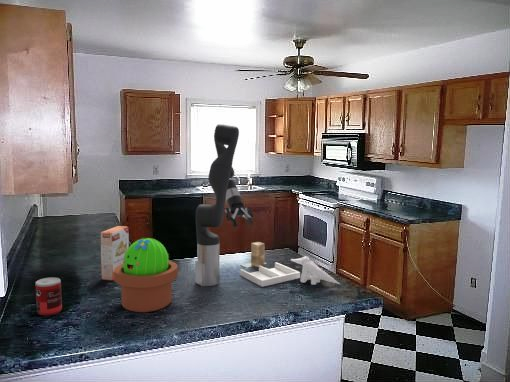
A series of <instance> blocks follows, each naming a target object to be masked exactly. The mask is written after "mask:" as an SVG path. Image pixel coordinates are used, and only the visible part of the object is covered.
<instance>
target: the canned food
mask: <svg viewBox="0 0 510 382" xmlns="http://www.w3.org/2000/svg"><path fill="white" fill-rule="evenodd" d="M35 299H36V300H35V302H36V311H37V314H38V315H40V316H45V317H46V316H52V315H57V314H58V313H60V312H61V311H62V309H63V303H62V281H61V279H60V278H59V277H44V278H40V279H38V280H37V281H35Z"/></svg>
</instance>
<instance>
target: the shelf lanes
mask: <svg viewBox="0 0 510 382" xmlns="http://www.w3.org/2000/svg"><path fill="white" fill-rule="evenodd" d="M239 276H241V277H243V278H245V279H247V280H249V281H250V282H252V283H255V285H258V286H260V287H268V286H271V285H276V284H279V283H280V284H281V283H283V282H288V281H289V282H290V281H294V280H298V279H300V278H301V272H300V271H299V270H296V269H293V268H291V267H289V266H286V265H284V264H281V263H280V262H277V261H276V262H274V267H273V268H268V267H265V266H261V265H260V266H259V267H258V271H257V270H256V271H253V272H249V271H246V270H245V269H243V268H240V269H239Z"/></svg>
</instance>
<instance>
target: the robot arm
mask: <svg viewBox="0 0 510 382" xmlns="http://www.w3.org/2000/svg"><path fill="white" fill-rule="evenodd" d="M239 135H240V130H239V128H238V127H237V126H235V125H229V124H224V123H223V124H220V123H219V124H217V125H216V126H215V129H214V134H213V141H214V145H215V150H216V151H215V152H216V156H217V157H216V158H215V159H214V160H213V161H212V163H211V165H210V167H209V173H208V182H209V186H211V187H210V188H211V189H212V190H213V193H214V195H215V199H216V201H215V204H199V205H198V206H197V207H196V210H195V228H196V230H195V231H196V243H197V244H196V246H197V249H196V253H197V254H196V256H197V258H196V259H197V260H195V270H194V271H195V283H196V284H198V285H199V286H200V287H213V286H217V285H219V284H220V236H219V235H218V234H216V233H214V232H212V231H211V230H209V229H208V228H220V227H221V226H222V224H223V220H224V214H225V216H226V221H230V222H231V224H232V227H233V228H235V229H236V228H238V222H237V221H236V218H238V217H241V218H243V219H245V220H246V222H247V224H248V227H252V226H253V220H252V219H253V217H254V216H255V215H254V214H253V211H252V208H251V207H250V206H247V207H245V206H244V202H243V199H242V196H241V193H240V191H239V190H238V187H237V185H236V182H235V181H234V180H233V179H232V178H234V175H235V169H234V168H233V161H234V156H235V152H236V147H237V144H238V140H239ZM226 146H227V147H226ZM226 203H227V206H228V207H226V209H225V205H226Z"/></svg>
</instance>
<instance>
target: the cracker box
mask: <svg viewBox="0 0 510 382" xmlns="http://www.w3.org/2000/svg"><path fill="white" fill-rule="evenodd" d="M129 236H130V235H129V226H126V225H125V226H124V225H117V226H114V227H112V228H108V229H106V230H104V231H100V254H101V255H100V265H101V266H100V269H101V272H100V273H101V280H103V281H104V280H105V281H114V269H115V268H116V267H117V266H119V265H121V264H123V259H124V256H125V253H126V251H127V249H128V248H129V247H130V241H129V238H130V237H129Z"/></svg>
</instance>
